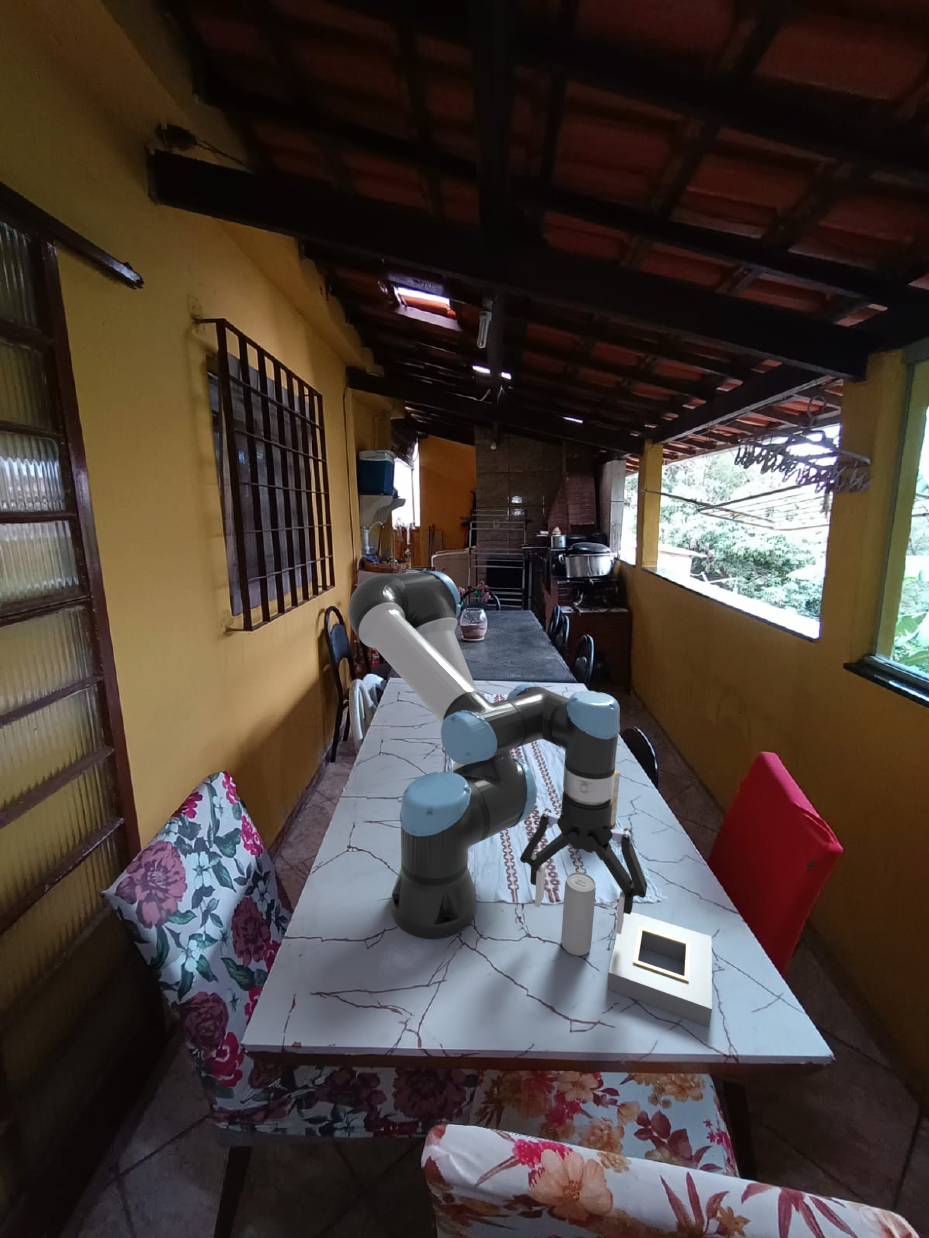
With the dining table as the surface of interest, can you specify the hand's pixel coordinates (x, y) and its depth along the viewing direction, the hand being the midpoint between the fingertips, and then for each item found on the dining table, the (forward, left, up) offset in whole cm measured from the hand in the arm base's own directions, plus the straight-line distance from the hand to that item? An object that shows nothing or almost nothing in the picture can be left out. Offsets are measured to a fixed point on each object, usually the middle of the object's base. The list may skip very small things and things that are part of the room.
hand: (578, 914), depth 87 cm
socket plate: (+13, +1, -6) cm, 14 cm away
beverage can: (0, 0, -6) cm, 6 cm away
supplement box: (-3, +35, -6) cm, 36 cm away
